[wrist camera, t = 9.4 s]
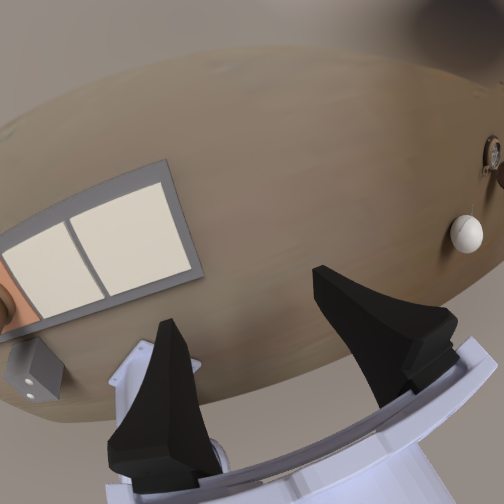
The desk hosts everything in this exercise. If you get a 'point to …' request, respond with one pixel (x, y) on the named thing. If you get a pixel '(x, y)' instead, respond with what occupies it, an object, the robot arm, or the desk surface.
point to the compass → (494, 159)
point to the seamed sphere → (466, 234)
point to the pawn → (6, 307)
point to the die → (34, 371)
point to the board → (97, 251)
